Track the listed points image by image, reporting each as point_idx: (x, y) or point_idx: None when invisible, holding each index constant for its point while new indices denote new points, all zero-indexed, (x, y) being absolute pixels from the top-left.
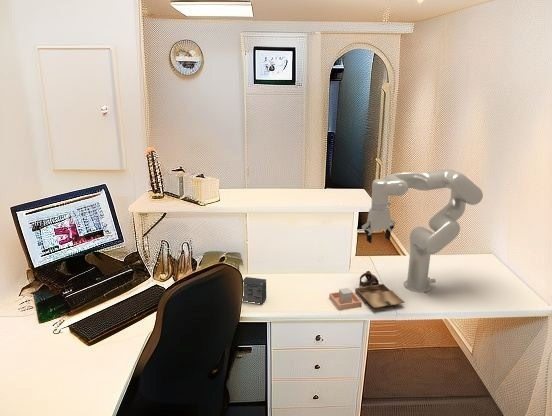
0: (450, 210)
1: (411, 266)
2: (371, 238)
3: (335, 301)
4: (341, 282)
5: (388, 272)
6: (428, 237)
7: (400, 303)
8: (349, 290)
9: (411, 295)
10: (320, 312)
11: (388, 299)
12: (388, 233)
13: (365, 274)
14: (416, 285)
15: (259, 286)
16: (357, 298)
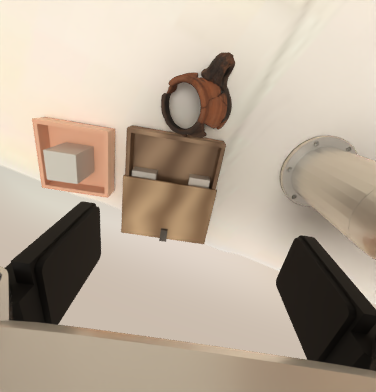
0: None
1: (332, 203)
2: (75, 292)
3: (39, 164)
4: (126, 27)
5: (336, 40)
6: None
7: (192, 241)
8: (73, 171)
9: (265, 198)
10: (4, 165)
11: (176, 220)
12: (306, 348)
13: (193, 85)
14: (301, 196)
15: None
16: (104, 180)
